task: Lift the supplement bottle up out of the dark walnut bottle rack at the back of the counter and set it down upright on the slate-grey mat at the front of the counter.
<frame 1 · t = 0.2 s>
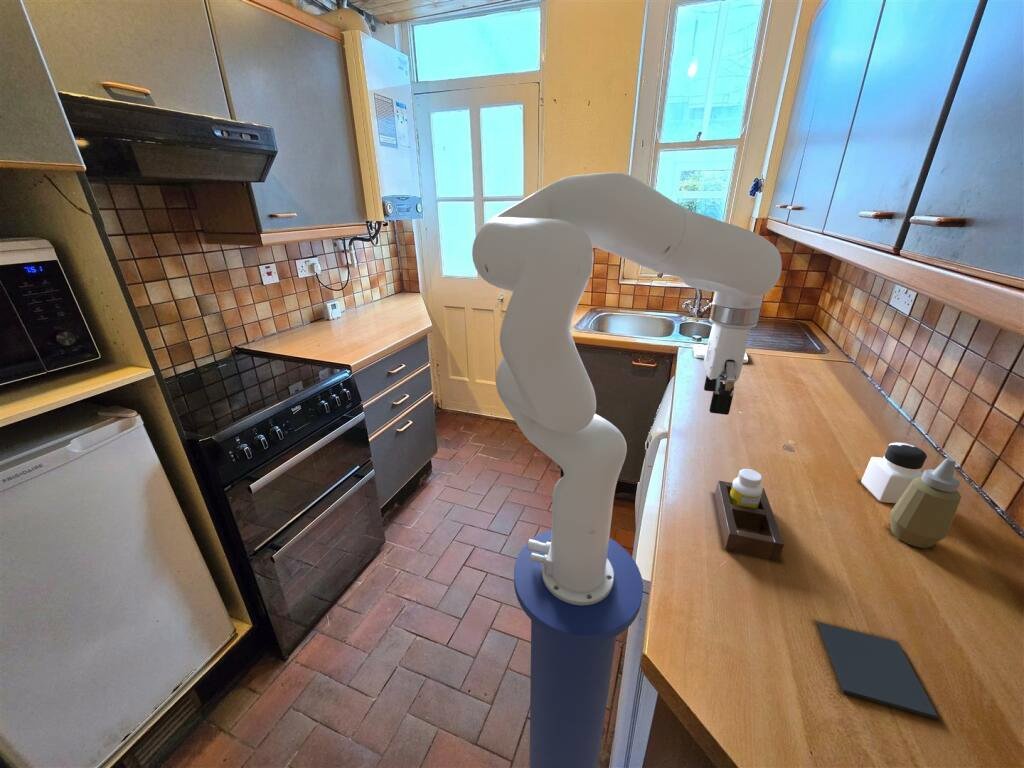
hand: (715, 401, 78), 25 cm above the worktop, tool pointing down, fingers open, 9 cm apart
rack: (743, 524, 82), on the worktop
medicine bottle: (887, 494, 90), on the worktop
white flat block: (719, 355, 170), on the worktop
supplement bottle: (739, 513, 85), resting in rack
mat: (871, 667, 57), on the worktop
squeeze bottle: (910, 537, 78), on the worktop
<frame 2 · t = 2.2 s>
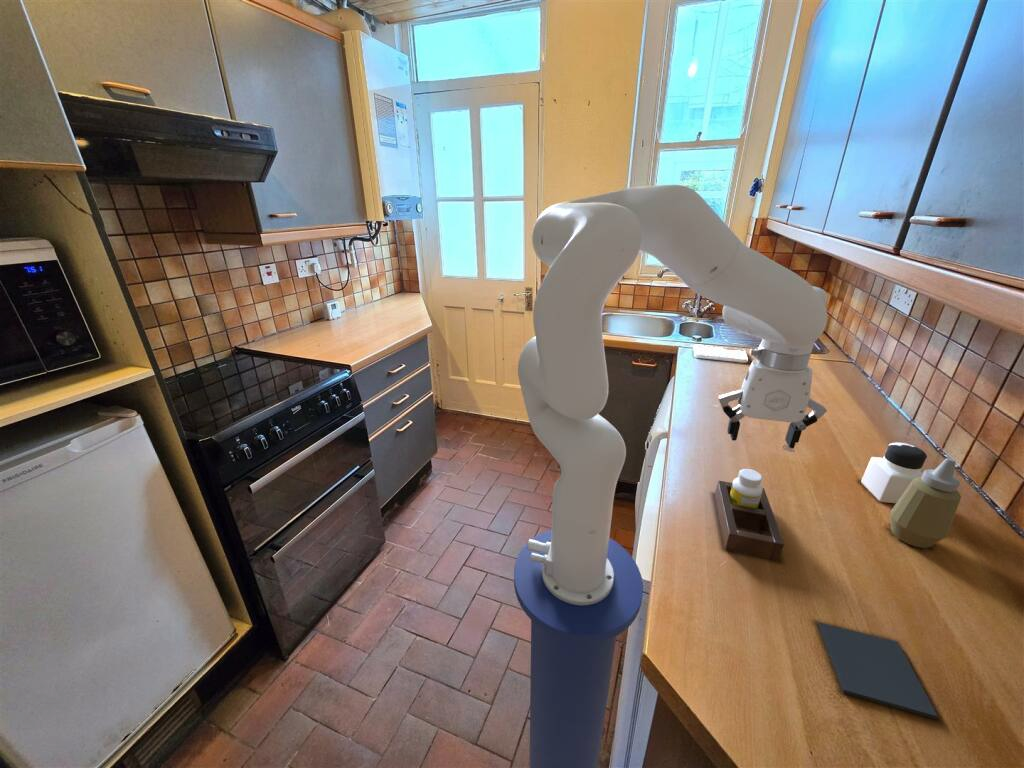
hand: (760, 440, 78), 18 cm above the worktop, tool pointing down, fingers open, 9 cm apart
nothing on the worktop moved.
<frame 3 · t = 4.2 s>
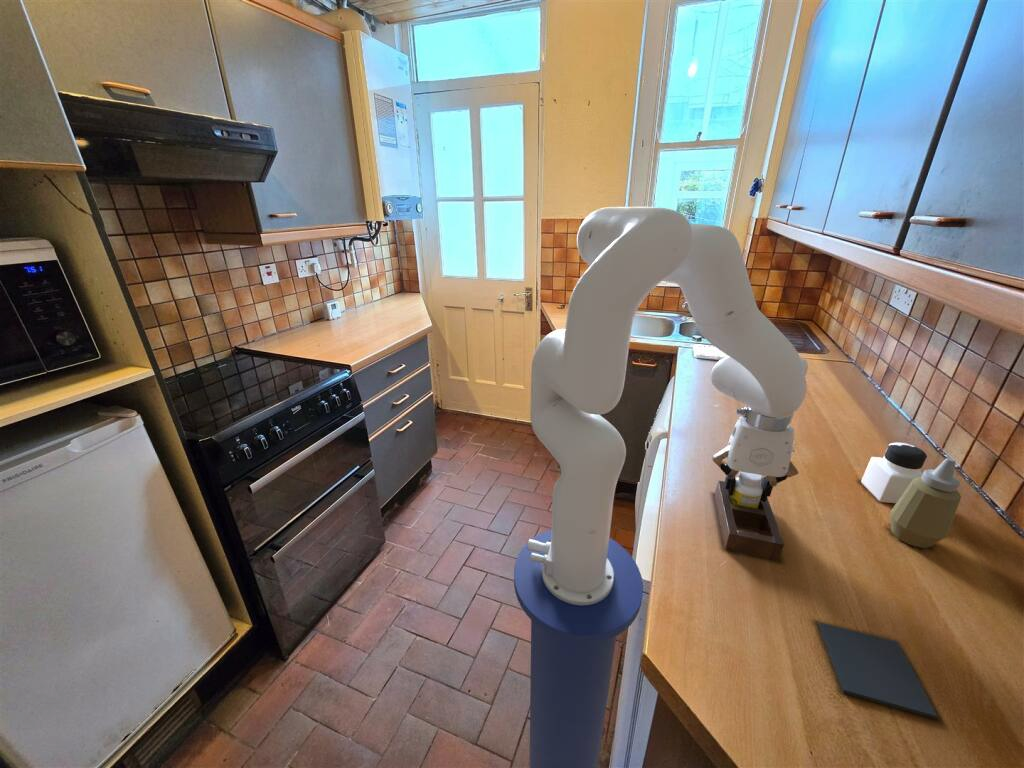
hand: (745, 493, 83), 5 cm above the worktop, tool pointing down, fingers closed on supplement bottle, 5 cm apart
supplement bottle: (739, 513, 85), resting in rack, touching gripper
everything else where it was.
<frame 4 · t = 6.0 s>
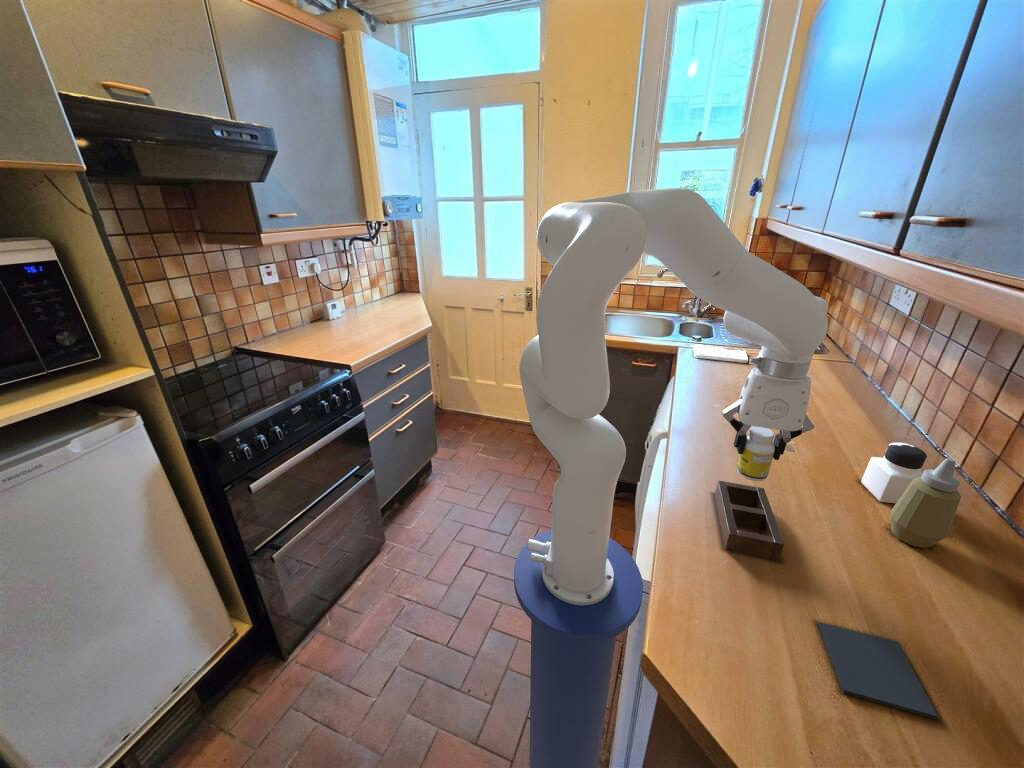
hand: (756, 452, 78), 15 cm above the worktop, tool pointing down, fingers closed on supplement bottle, 5 cm apart
supplement bottle: (751, 474, 81), point 10 cm above the worktop, touching gripper
everything else where it was.
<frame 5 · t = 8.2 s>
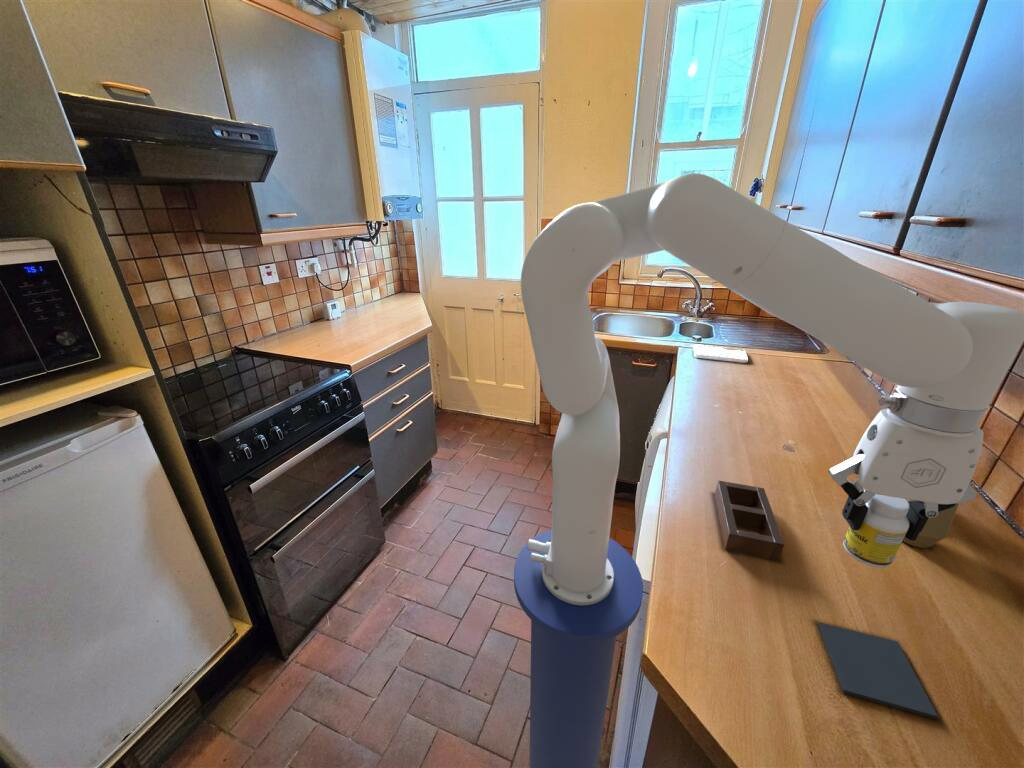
hand: (877, 526, 55), 19 cm above the worktop, tool pointing down, fingers closed on supplement bottle, 5 cm apart
supplement bottle: (865, 554, 57), point 14 cm above the worktop, touching gripper
everything else where it was.
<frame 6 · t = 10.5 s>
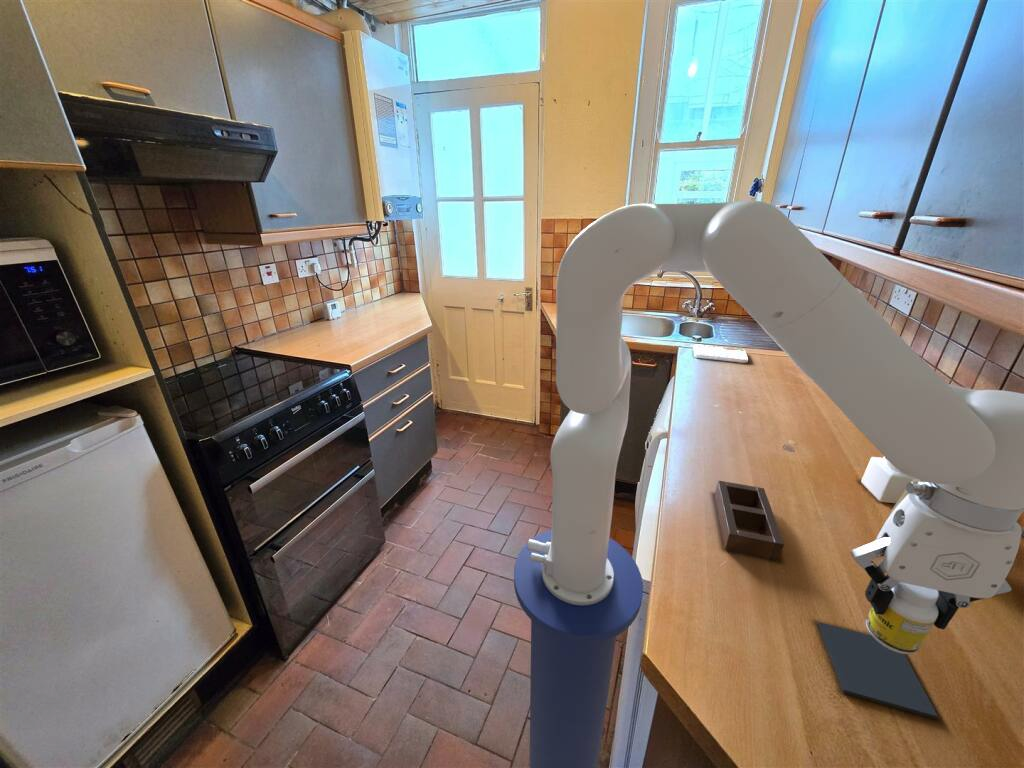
hand: (903, 610, 52), 12 cm above the worktop, tool pointing down, fingers closed on supplement bottle, 5 cm apart
supplement bottle: (889, 636, 54), point 7 cm above the worktop, touching gripper
everything else where it was.
when the fingers open (6 cm above the worktop, at t = 12.3 s): supplement bottle stays where it is, resting on mat.
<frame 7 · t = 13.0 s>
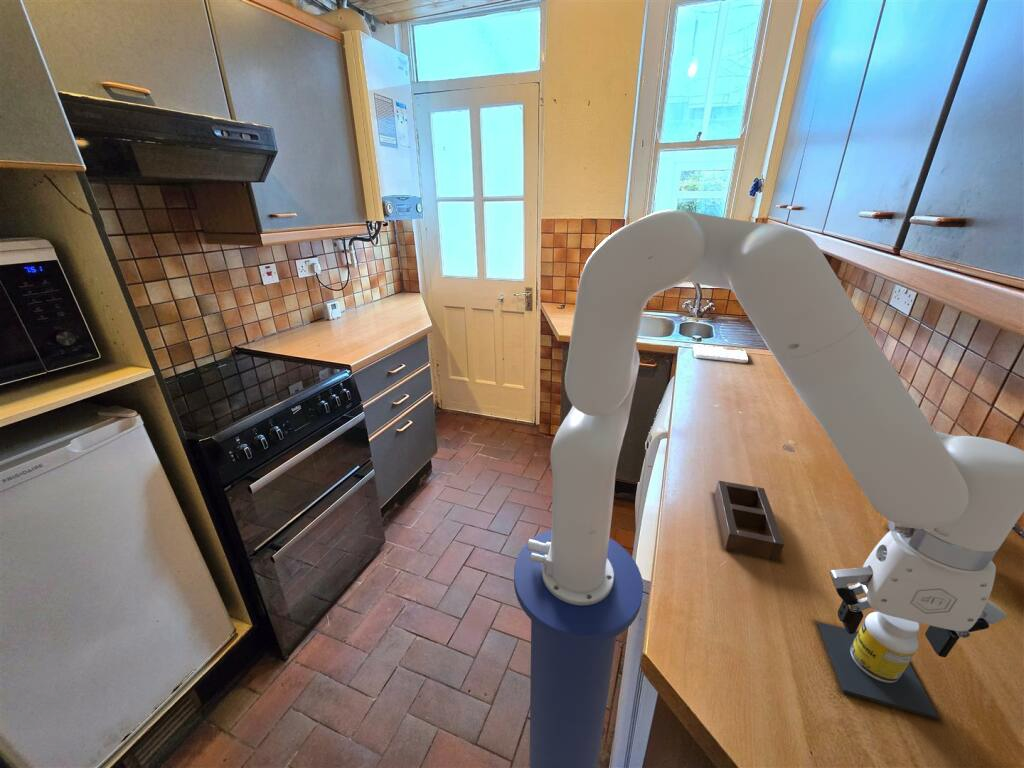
hand: (888, 634, 54), 7 cm above the worktop, tool pointing down, fingers open, 9 cm apart
supplement bottle: (872, 664, 57), resting on mat
everything else where it was.
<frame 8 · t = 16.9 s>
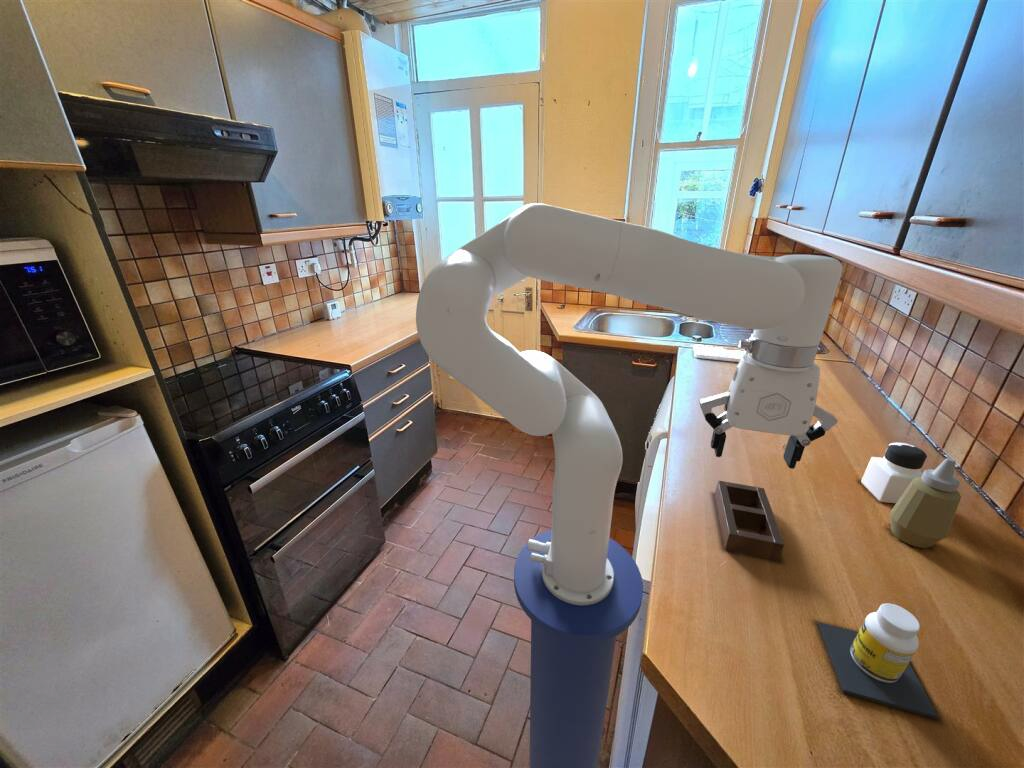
hand: (751, 457, 61), 24 cm above the worktop, tool pointing down, fingers open, 9 cm apart
nothing on the worktop moved.
at the end: supplement bottle inside the target area on the mat (0.3 cm from its centre), point 0.4 cm above the mat's base; supplement bottle tilted 0°; the gripper is holding nothing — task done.
